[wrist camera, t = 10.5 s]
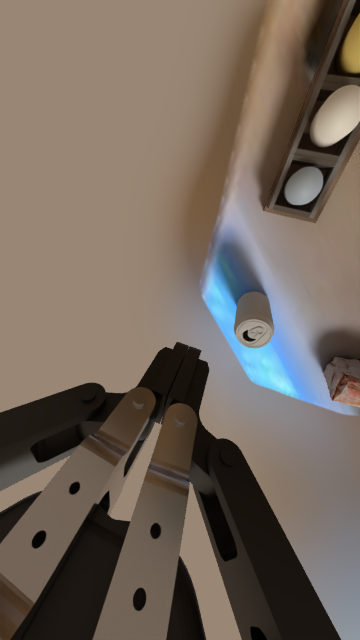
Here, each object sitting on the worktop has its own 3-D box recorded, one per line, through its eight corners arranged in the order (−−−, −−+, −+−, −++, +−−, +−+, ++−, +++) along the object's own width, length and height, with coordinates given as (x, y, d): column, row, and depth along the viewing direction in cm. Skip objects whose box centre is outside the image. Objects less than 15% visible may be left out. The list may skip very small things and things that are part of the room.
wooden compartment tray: (338, 12, 22) (357, -30, 18) (417, 17, 21) (456, -26, 17) (263, 210, 33) (265, 211, 29) (312, 222, 32) (320, 224, 28)
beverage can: (231, 301, 43) (225, 330, 33) (257, 283, 39) (258, 310, 30) (249, 321, 44) (248, 355, 34) (275, 306, 40) (283, 339, 31)
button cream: (352, 89, 22) (366, 73, 19) (352, 135, 23) (365, 126, 21) (308, 113, 23) (315, 101, 21) (311, 154, 25) (318, 148, 22)
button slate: (315, 163, 27) (321, 159, 24) (317, 197, 28) (324, 196, 26) (280, 178, 28) (283, 176, 26) (285, 209, 30) (288, 210, 27)
